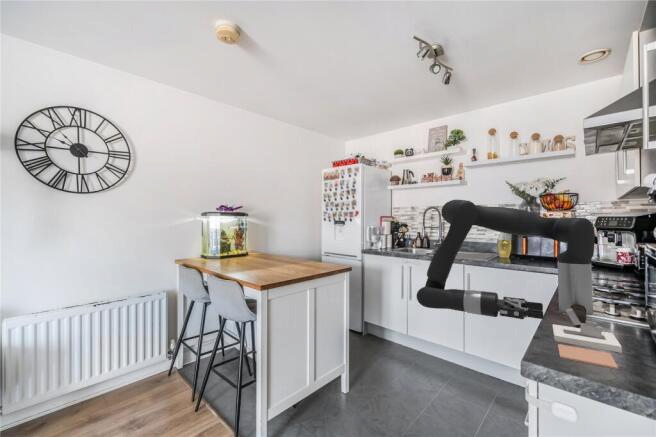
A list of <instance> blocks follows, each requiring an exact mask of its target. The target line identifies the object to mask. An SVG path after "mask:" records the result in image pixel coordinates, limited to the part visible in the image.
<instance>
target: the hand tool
mask: <svg viewBox="0 0 656 437" xmlns="http://www.w3.org/2000/svg"><path fill="white" fill-rule="evenodd" d="M570 308H572V309H573V311H574V313H575V314H576V316H577V318H578V319H579V321H580V323H584V324H586V321H587V315H586V308H585V307H584V306H582V305H578V304H575V305H571V307H570ZM574 326H575V327H574V328H580V325H574Z"/></svg>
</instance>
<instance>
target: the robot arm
mask: <svg viewBox="0 0 656 437" xmlns="http://www.w3.org/2000/svg"><path fill="white" fill-rule="evenodd" d="M440 212H441V216H442V217H441V218H442V219H443V220H444V221H445V222H446V223H448V224H449V228H448V230H447V234H446V236H445V238H444V240H443V241H442V242H441V244H440V245H439V247H437V248H436V250H435V252H434V254H433V256H432V258H431V260H430V263H429V265H428V269H427V271H426V277H427V278H426V283H425V285H424V286H422V287H421V288H419V290H417V293H416V300H417V302H418V303H419V304H420V305H421V306H422V307H424V308H429V309H439V310H442V309H443V310H446V309H447V310H451V311H459V312H464V313H469V314H473V315H474V314H475V315H479V316H486V317H491V318H493V317H494V318H497V317H498V316H500V317H505V318H506V317H507V318H511V319H519V320H525V319H526V318H532V319H537V320H544V309H543V308H544V305H543V303H542V302H535V301H528V300H526V299H525V298H519V297H510V296H503V299H500V298H499V295H498V293H497V292H495V291H493V292H492V291H485V290H475V289H474V290H473V289H469V290H468V289H467V290H466V289H459V288H458V289H457V288H449V289H446V283H447V280H448V278H449V275H450V273H451V270H452V267H453V264H454V261H455V260H456V257H457V255H458V253H459V250H460V249H461V247H462V245H463V243H464V241H465V239H466V238H467V236H468V234H469V232H471V229H472V227H473V226H475V227H476V226H477V227H481V228H484V229H487V230H492V231H494V232H495V231H496V232H499V233H502V234H506V235H508V234H509V235H514V236H521V237H522V236H524V237H542V238H545V239H549V240H553V241H555V242H560V243H563V244H564V243H565V244H567V248H566V250H565V251H563V252H560V253H558V254H557V255H556V256H557V283H558V284H557V288H558V289H557V290H558V309H559V310H560V311H562V312H565V313H567V312H566V310H567V309H571V308H570V307H571V305H575V304H578V305H582V306H584V307H585V308H586V316H587V315H588V316H589V315H592V313H593V314H594V303H593V302H594V299H593V274H592V273H593V272H592V268H593V267H592V259H593V257H594V254H595V240H596V239H595V237H596V236H595V235H596V234H595V232H596V231H595V228H594V224H593V223H592V222H591V220H589V219H588V218H585V217H545V216H540V215H538V214H536V213H534V212H532V211H529V210H525V209H520V208H515V207H514V208H513V207H503V206H502V207H501V206H485V205H482V206H481V205H478V204H475V203H474V202H472V201H471V200H467V199H453V200H452V199H451V200H449V201H447V202H446V203H445V204H444V205H443V206H442V207H441V211H440Z"/></svg>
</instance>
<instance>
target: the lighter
mask: <svg viewBox="0 0 656 437" xmlns="http://www.w3.org/2000/svg"><path fill="white" fill-rule="evenodd" d="M565 313H567V315H568V317H569V318H570V320H571V321H572V323H573V326H575V325H580V330H581V336H584V337H591V338H597V339H602V334H601V332H602V326H600V325H598V323H597V322H595V321H591V320H590V321H589V320H586V324H584V323H580V321H579V319H578V318H577V316H576V314H575V313H574V311H573V309H572V308H571V309H567V310H566V312H565Z"/></svg>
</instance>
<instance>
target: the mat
mask: <svg viewBox="0 0 656 437" xmlns="http://www.w3.org/2000/svg"><path fill="white" fill-rule="evenodd" d="M557 348H558V353H559V354H558V355H559V358H560V359H565V360H570V361H574V362H575V361H576V362H580V363H585V364H591V365H594V366H599V367H603V368H604V367H605V368H611V369H615V370H619V367H618V366H619V365H617V363H616V361H615V359H614V357H613V356H612V354H611V353H609V352H606V351H605V352H603V351H599V350H593V349H588V348H582V347H576V346H571V345H565V344H559V343H558V344H557Z"/></svg>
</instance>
